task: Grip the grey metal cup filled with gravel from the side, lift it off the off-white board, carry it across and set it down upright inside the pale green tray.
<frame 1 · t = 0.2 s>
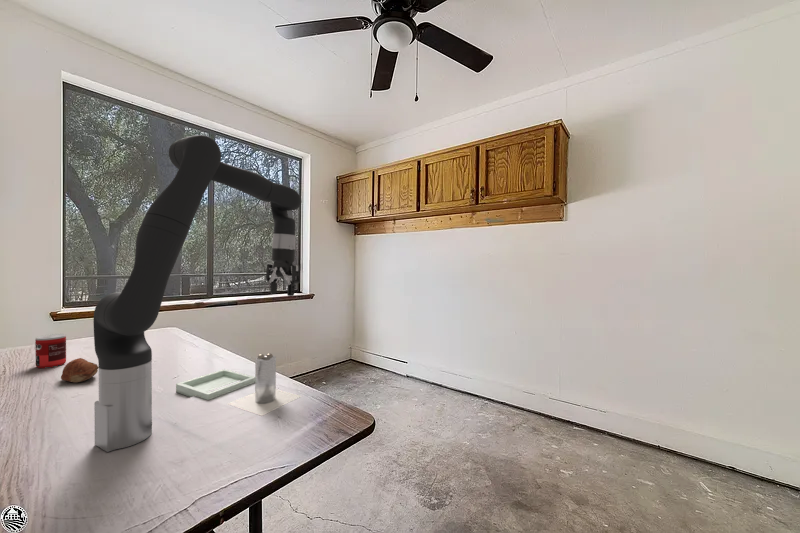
hand: (281, 294, 113), 29 cm above the table, fingers open, 8 cm apart
canned food: (51, 365, 123), on the table
tray: (217, 388, 104), on the table
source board: (265, 403, 94), on the table
bread roll: (79, 380, 109), on the table
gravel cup: (265, 399, 94), point 1 cm above the table, touching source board
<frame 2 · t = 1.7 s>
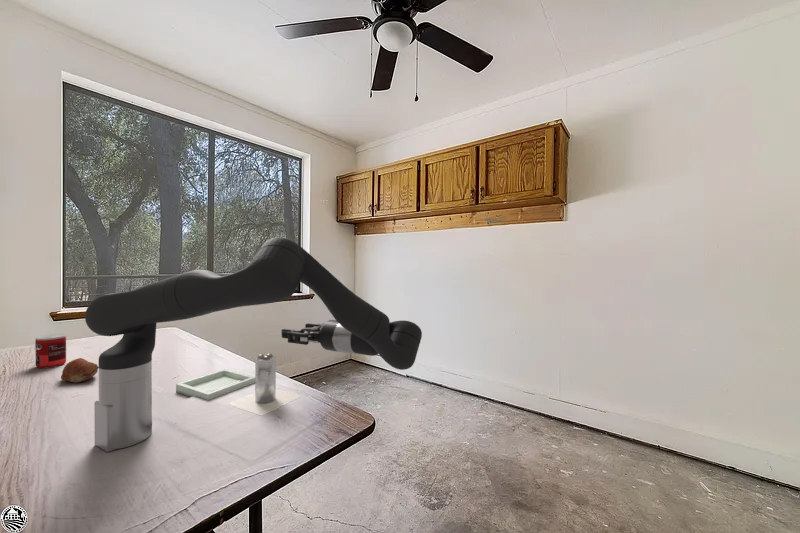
hand: (294, 330, 88), 22 cm above the table, fingers open, 8 cm apart
nothing on the table moved.
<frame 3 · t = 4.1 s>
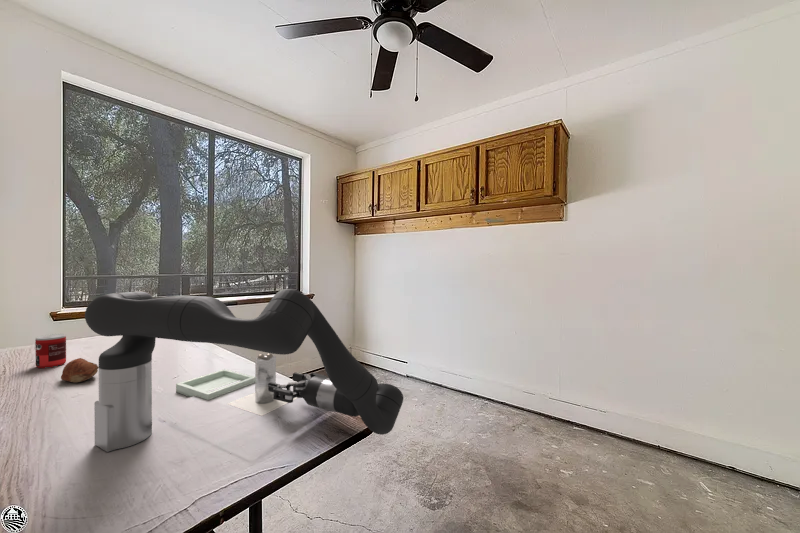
hand: (281, 381, 90), 8 cm above the table, fingers open, 8 cm apart
nothing on the table moved.
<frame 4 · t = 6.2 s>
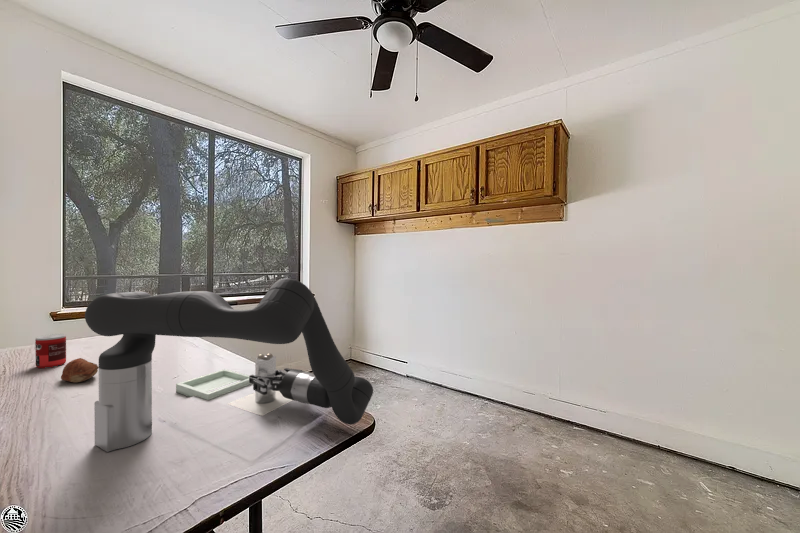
hand: (259, 375, 95), 8 cm above the table, fingers closed on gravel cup, 5 cm apart
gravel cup: (265, 399, 94), point 1 cm above the table, touching gripper, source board
everything else where it was.
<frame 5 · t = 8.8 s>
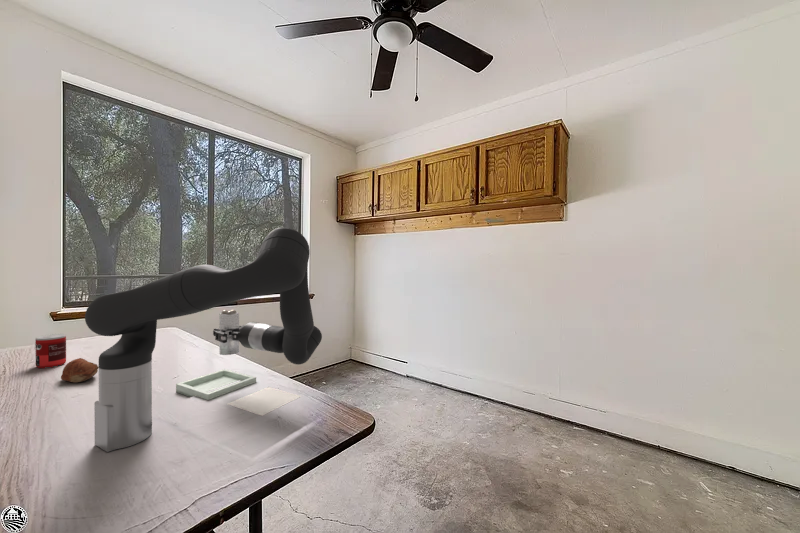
hand: (224, 330, 102), 19 cm above the table, fingers closed on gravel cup, 5 cm apart
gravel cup: (229, 352, 101), point 12 cm above the table, touching gripper
everything else where it was.
when the fingers open (8 cm above the table, at t = 11.7 s): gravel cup stays where it is, resting on tray.
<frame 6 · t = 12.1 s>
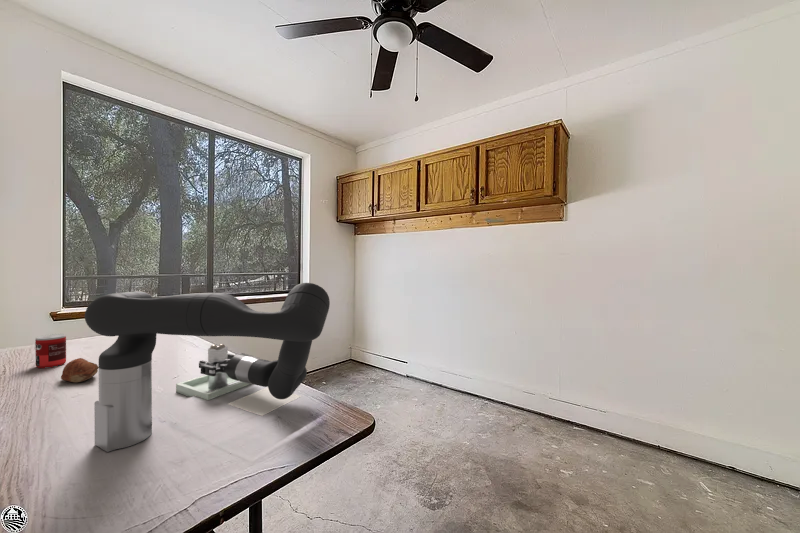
hand: (213, 360, 105), 9 cm above the table, fingers open, 8 cm apart
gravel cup: (217, 385, 104), point 1 cm above the table, touching tray
everything else where it was.
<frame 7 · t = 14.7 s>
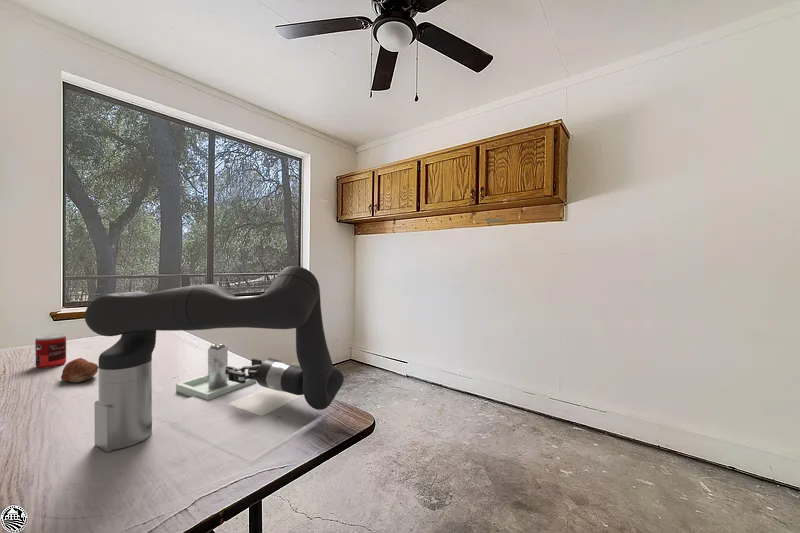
hand: (240, 365, 98), 9 cm above the table, fingers open, 8 cm apart
nothing on the table moved.
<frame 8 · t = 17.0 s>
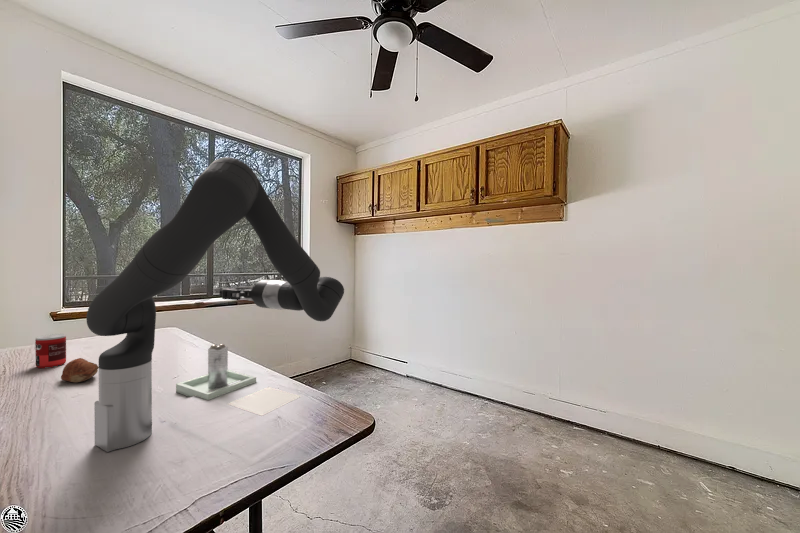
hand: (235, 290, 93), 32 cm above the table, fingers open, 8 cm apart
nothing on the table moved.
at the end: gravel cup inside the target area on the tray (0.1 cm from its centre), point 0.8 cm above the tray's base; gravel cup tilted 0°; the gripper is holding nothing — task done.
